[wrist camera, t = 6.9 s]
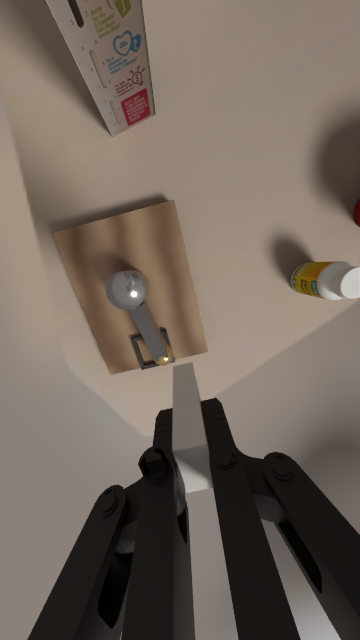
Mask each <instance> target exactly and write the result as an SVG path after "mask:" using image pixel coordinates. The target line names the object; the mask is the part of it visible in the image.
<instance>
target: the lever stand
mask: <svg viewBox="0 0 360 640" xmlns="http://www.w3.org/2000/svg"><path fill="white" fill-rule="evenodd" d="M51 234H52V236H53V238H54V241H55V243H56V246H57V248H58V250H59V253H60V255H61V258H62V260H63V262H64V265H65V267H66V270H67V272H68V274H69V277H70V279H71V282H72V284H73V286H74V289H75V291H76V294H77V296H78V298H79V301H80V303H81V306H82V308H83V310H84V313H85V315H86V318H87V320H88V322H89V325H90V327H91V330H92V332H93V334H94V337H95V339H96V342H97V344H98V346H99V349H100V351H101V354H102V356H103V358H104V361H105V363H106V366H107V368H108V370H109V373H110V375H112V374H116V373H121V372H125V371H129V370H133V369H137V368H141V369H142V370H143V369H147V368H151V367H155V366H160V365H159V364H157V363H156V362H155V361H154V359H153V355H152V353H151V351H150V349H149V348H148V346H147V344H146V342H145V340H144V338H143V337H142V335H141V333H140V331H139V329H138V327H137V326H136V324H135V322H134V320H133V318H132V316H131V315H130V313H129V310H121V309H118V308H116V307H115V306H113V305H112V304H111V303H110V301H109V300H108V298H107V296H106V290H105V288H106V283H107V281H108V279H109V278H110V277H111V276H112V275H113V274H115V273H117V272H120V271H127V270H136V271H139V272H141V273H143V274H144V275H145V276H146V277H147V279H148V281H149V284H150V291H149V294H148V296H147V297H146V298H145V300H144V301H146V303H147V305H148V307H149V309H150V311H151V313H152V315H153V317H154V319H155V321H156V323H157V325H158V327H159V329H160V331H161V333H162V335H163V337H164V339H165V341H166V343H167V345H168V346H170V347H171V349H172V350H173V354H174V355H173V359H172V361H171V362H170V363H172V362H175V359H180V358H184V357H188V356H192V355H196V354H201V353H205V352H208V350H207V345H206V341H205V336H204V332H203V327H202V323H201V318H200V314H199V309H198V305H197V300H196V296H195V291H194V287H193V283H192V278H191V274H190V269H189V265H188V260H187V256H186V251H185V247H184V242H183V238H182V233H181V229H180V224H179V220H178V215H177V211H176V206H175V202H174V200H171V201H167V202H164V203H160V204H156V205H153V206H149V207H145V208H142V209H138V210H134V211H131V212H127V213H123V214H120V215H116V216H112V217H109V218H105V219H101V220H98V221H94V222H90V223H87V224H83V225H79V226H76V227H72V228H69V229H65V230H61V231H58V232H54V233H51ZM144 301H143V302H144Z"/></svg>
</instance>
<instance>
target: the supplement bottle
mask: <svg viewBox="0 0 360 640" xmlns="http://www.w3.org/2000/svg"><path fill="white" fill-rule="evenodd" d="M291 285H292V287H293V289H294V290H295V291H296V292H299V293H302V294H306V295H310V296H315V297H319V298H323V299H328V300H338V299H342V298H348V299H355V298H358V297H360V267H355V266H353V265H352V264H350V263H348V262H341V261H340V262H307V263H304V264H301V265H300V266H298V267H297V268H296V269H295V270H294V272H293V274H292V277H291Z"/></svg>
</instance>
